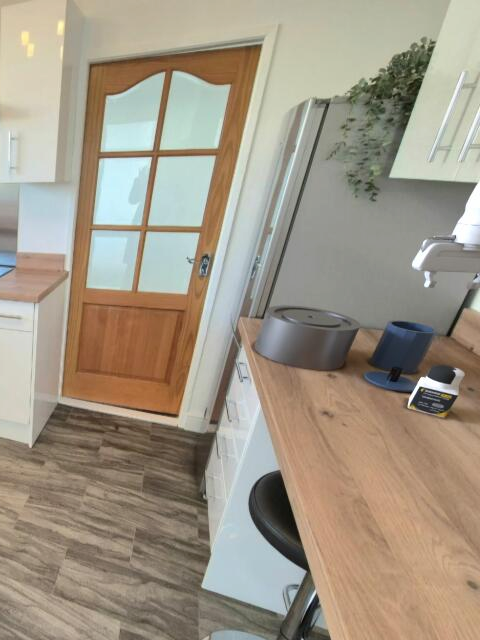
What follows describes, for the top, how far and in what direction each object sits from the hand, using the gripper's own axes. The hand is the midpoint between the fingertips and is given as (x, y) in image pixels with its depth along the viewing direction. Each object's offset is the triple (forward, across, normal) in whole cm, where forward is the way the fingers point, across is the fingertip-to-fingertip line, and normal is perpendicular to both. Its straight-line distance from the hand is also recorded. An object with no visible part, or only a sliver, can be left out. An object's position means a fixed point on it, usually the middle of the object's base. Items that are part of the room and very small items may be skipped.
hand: (449, 288), depth 118 cm
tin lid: (+27, -7, -6) cm, 29 cm away
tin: (+28, +1, +9) cm, 29 cm away
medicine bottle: (+28, -6, -21) cm, 35 cm away
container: (+27, -25, +11) cm, 39 cm away
